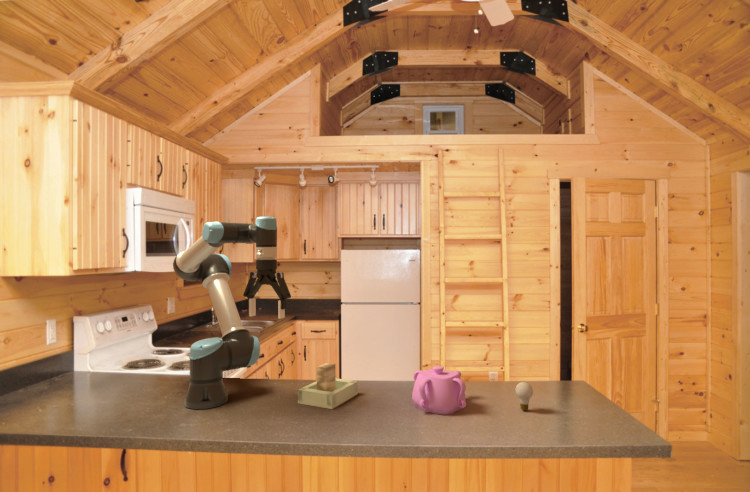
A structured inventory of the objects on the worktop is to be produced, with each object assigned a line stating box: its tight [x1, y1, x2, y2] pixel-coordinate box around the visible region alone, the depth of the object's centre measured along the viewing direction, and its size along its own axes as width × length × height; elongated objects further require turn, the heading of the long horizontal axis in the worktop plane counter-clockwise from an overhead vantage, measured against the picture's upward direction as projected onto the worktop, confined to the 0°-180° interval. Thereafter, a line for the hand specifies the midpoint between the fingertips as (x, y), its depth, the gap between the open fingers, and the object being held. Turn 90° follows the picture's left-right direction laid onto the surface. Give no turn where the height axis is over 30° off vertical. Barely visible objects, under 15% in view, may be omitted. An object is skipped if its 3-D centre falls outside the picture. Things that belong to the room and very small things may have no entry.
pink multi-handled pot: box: [411, 365, 467, 416], centre depth 163 cm, size 19×21×14 cm
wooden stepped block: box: [316, 362, 337, 392], centre depth 171 cm, size 4×10×12 cm, turn 153°
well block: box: [297, 377, 359, 410], centre depth 171 cm, size 15×19×5 cm
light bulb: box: [514, 381, 534, 412], centre depth 156 cm, size 6×6×10 cm
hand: (266, 317), depth 162 cm, fingers open, 13 cm apart
